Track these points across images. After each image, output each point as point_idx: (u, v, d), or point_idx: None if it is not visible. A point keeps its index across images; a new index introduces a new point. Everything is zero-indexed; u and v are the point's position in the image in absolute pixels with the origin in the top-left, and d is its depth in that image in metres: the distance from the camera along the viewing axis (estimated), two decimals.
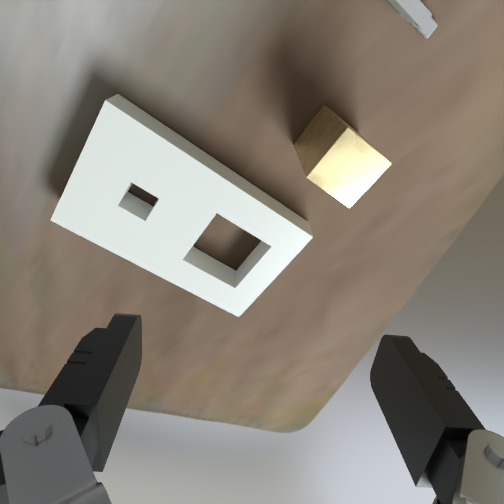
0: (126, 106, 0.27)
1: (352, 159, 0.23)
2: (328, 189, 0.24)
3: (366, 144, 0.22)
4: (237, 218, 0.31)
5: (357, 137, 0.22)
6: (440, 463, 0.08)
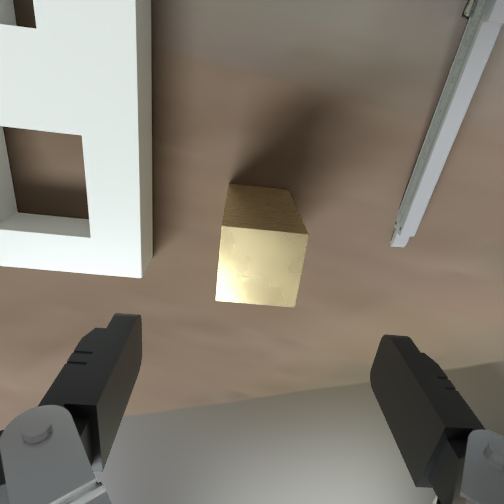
0: None
1: (275, 264, 0.17)
2: (223, 261, 0.16)
3: (300, 267, 0.17)
4: (95, 169, 0.19)
5: (302, 252, 0.16)
6: (440, 463, 0.08)
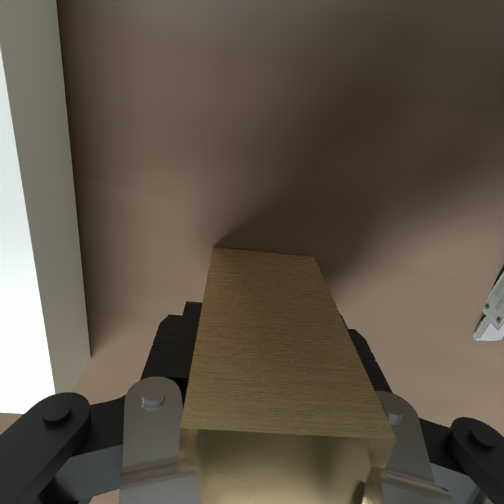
0: None
1: (311, 492, 0.07)
2: None
3: None
4: None
5: None
6: None
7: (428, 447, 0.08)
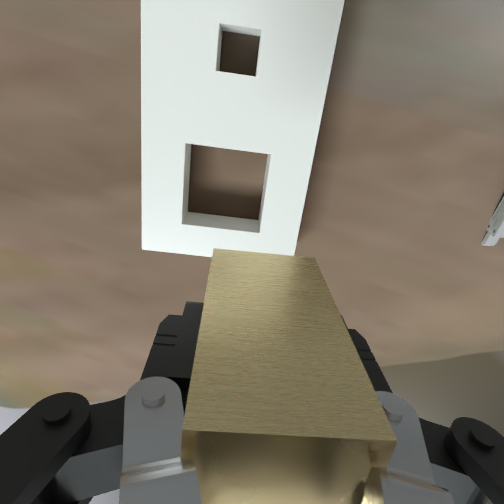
0: None
1: (312, 493, 0.07)
2: None
3: None
4: (275, 180, 0.25)
5: None
6: None
7: (428, 447, 0.08)
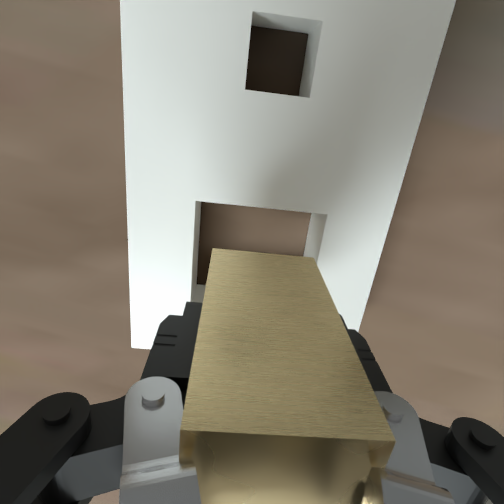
0: None
1: (310, 493, 0.07)
2: None
3: None
4: (332, 251, 0.17)
5: None
6: None
7: (428, 447, 0.08)
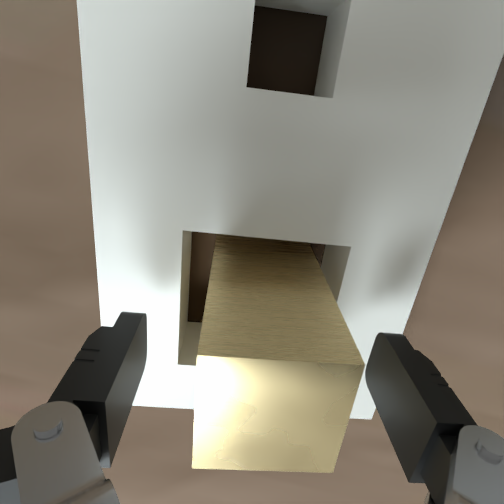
0: None
1: (300, 412, 0.09)
2: (202, 412, 0.09)
3: (346, 416, 0.09)
4: (355, 290, 0.13)
5: (352, 393, 0.09)
6: (432, 458, 0.08)
7: None
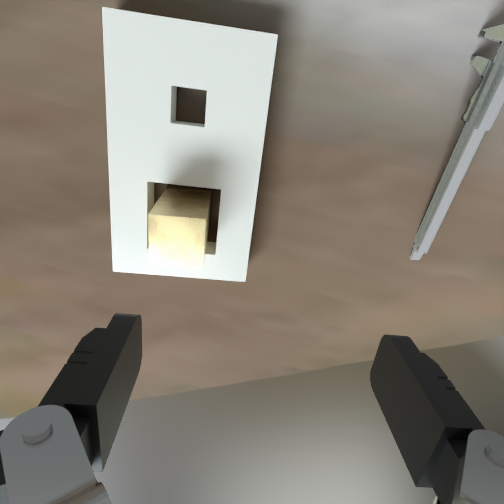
0: None
1: (186, 239, 0.25)
2: (151, 238, 0.25)
3: (203, 241, 0.25)
4: (226, 210, 0.30)
5: (203, 231, 0.25)
6: (440, 463, 0.08)
7: None
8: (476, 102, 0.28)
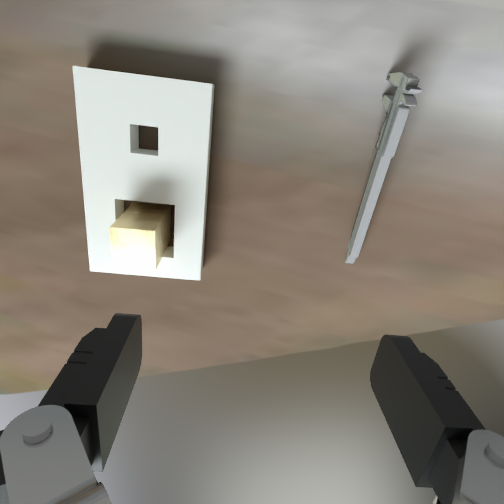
0: (212, 98, 0.33)
1: (140, 246, 0.32)
2: (112, 246, 0.32)
3: (154, 248, 0.32)
4: (180, 222, 0.36)
5: (153, 240, 0.31)
6: (440, 463, 0.08)
7: None
8: (383, 134, 0.34)
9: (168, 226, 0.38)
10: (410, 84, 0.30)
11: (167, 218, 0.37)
